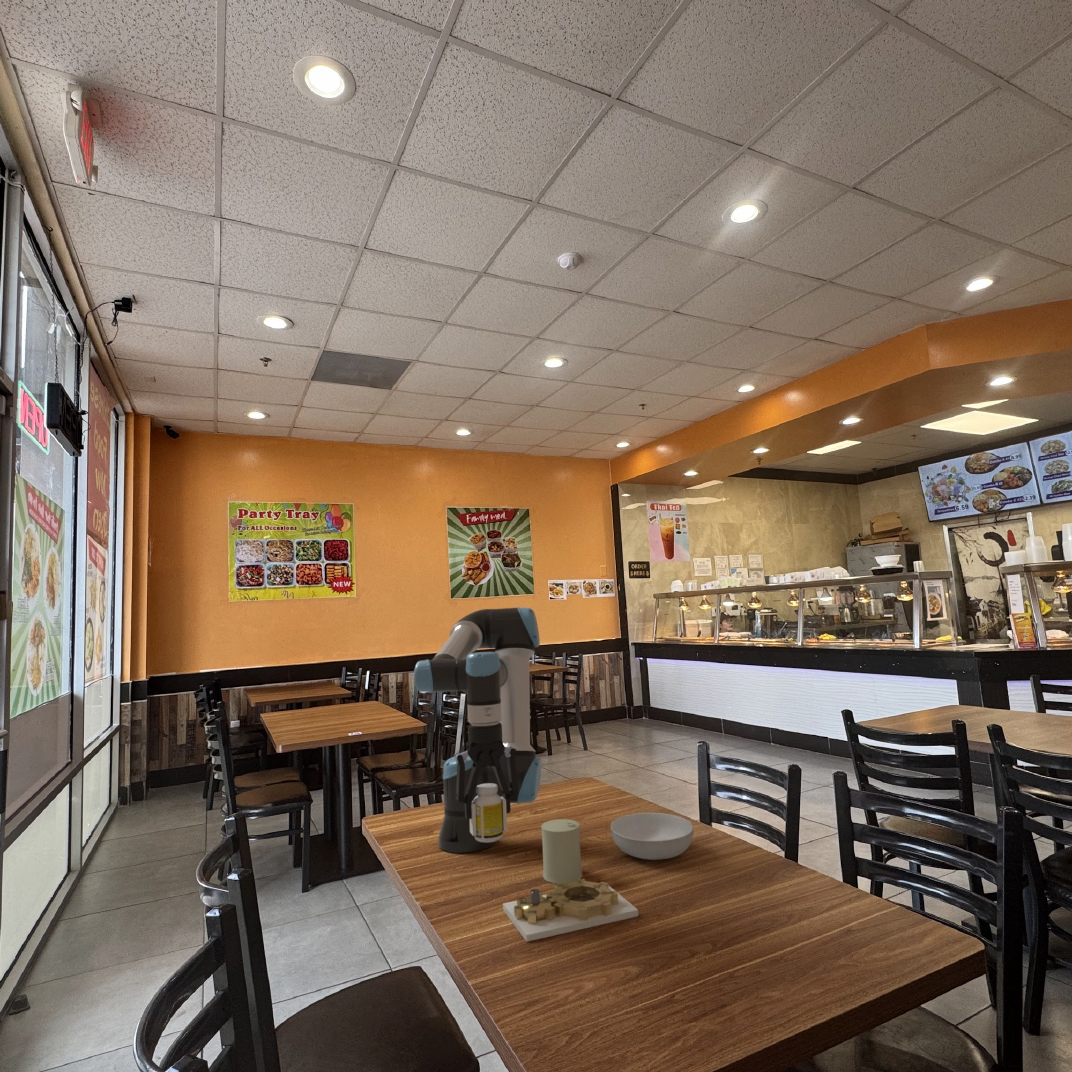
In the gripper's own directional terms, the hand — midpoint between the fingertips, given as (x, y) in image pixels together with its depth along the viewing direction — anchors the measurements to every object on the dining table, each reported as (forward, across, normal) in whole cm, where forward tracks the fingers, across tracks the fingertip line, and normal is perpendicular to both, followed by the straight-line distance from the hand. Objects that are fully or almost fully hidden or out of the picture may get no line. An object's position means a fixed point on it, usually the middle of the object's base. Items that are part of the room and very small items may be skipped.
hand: (488, 831), depth 145 cm
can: (+15, +19, +7) cm, 25 cm away
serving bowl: (+15, +45, +10) cm, 49 cm away
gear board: (+15, +14, -11) cm, 23 cm away
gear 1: (+14, +6, -11) cm, 19 cm away
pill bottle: (+2, 0, 0) cm, 2 cm away
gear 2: (+14, +17, -11) cm, 24 cm away
